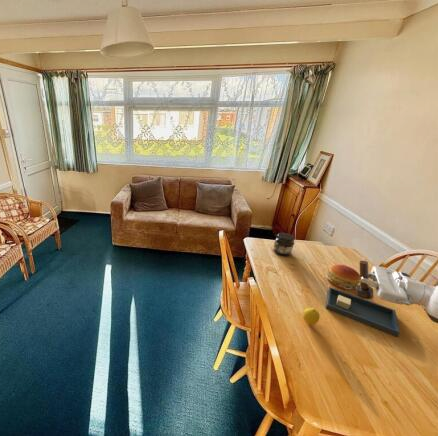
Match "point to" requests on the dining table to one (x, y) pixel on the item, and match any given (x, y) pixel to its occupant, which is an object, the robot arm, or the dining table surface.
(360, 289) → the brush
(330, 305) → the tray
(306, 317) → the lemon
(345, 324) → the dining table surface
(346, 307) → the cream block
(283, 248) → the supplement container
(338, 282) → the burger
